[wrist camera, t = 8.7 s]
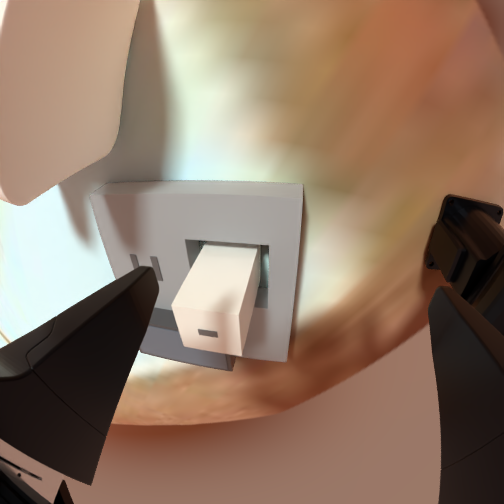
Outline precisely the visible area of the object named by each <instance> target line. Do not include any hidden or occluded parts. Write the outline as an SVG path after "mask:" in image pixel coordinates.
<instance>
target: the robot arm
mask: <svg viewBox="0 0 504 504" xmlns="http://www.w3.org/2000/svg"><path fill="white" fill-rule="evenodd" d="M450 200H452V202H451V203H449V201H450ZM498 211H499V212H498ZM497 212H498V213H497ZM502 215H503V208H502V207H501V206H499V205H496V204H492V203H488V202H484V201H479V200H475V199H471V198H466V197H461V196H457V195H452V194H448V195H447V196H446V197H445V199H444V202H443V206H442V209H441V213H440V217H439V220H438V221H437V223H436V226H435V230H434V233H433V236H432V239H431V242H430V245H429V251H428V254H427V257H426V260H425V265H426V267H427V268H428V269H437V270H441V272H442V274H443V276H444V278H445V280H446V282H450V284H451V286H452V288H453V289H452V288H450V287H448V286H439V287H438V288H437V289H436V291H435V293H434V295H433V298H432V300H431V302H430V304H429V307H428V317H429V325H430V335H431V344H432V345H431V346H432V355H433V362H434V369H435V375H436V382H437V391H438V401H439V412H440V427H441V469H442V470H441V476H440V493H439V503H438V504H504V229H503V228H502V227H501V226H500V225H499V224H500V221H501V218H502ZM430 262H432V263H430ZM429 263H430V264H429ZM158 295H159V284H158V280H157V277H156V274H155V271H154V269H153V267H151V266H139V267H137V268H136V269H134V270H132V271H130V272H129V273H127V274H125V275H124V276H122V277H120V278H118V279H117V280H115V281H113V282H111V283H110V284H108V285H106V286H105V287H103V288H101V289H100V290H98V291H96V292H95V293H93V294H91V295H90V296H88V297H86V298H85V299H83V300H81V301H80V302H78V303H76V304H75V305H73V306H71V307H70V308H68V309H67V310H65V311H63V312H62V313H60V314H59V315H57V317H56V316H55V317H54V318H52V319H51V320H49V321H47V322H46V323H44V324H43V325H41V326H39V327H38V328H36V329H34V330H33V331H31V332H29V333H27V334H26V335H24V336H22V337H20V338H18V339H17V340H15V341H13V342H11V343H9V344H8V345H6V346H4V347H2V348H1V349H0V504H74V503H73V501H72V498H71V496H70V493H69V490H68V488H67V485H66V482H65V480H63V477H64V475H66V476H68V477H70V478H73V479H75V480H77V481H80V482H82V483H85V484H87V485H90V486H91V484H92V481H93V478H94V475H95V471H96V468H97V465H98V461H99V458H100V455H101V452H102V449H103V446H104V442H105V440H106V436H107V433H108V430H109V427H110V424H111V422H112V419H113V416H114V413H115V410H116V408H117V405H118V402H119V399H120V397H121V394H122V391H123V389H124V386H125V383H126V381H127V378H128V376H129V373H130V371H131V368H132V366H133V363H134V361H135V358H136V356H137V353H138V351H139V349H140V346H141V344H142V341H143V339H144V337H145V334H146V332H147V329H148V326H149V323H150V319H151V316H152V313H153V310H154V307H155V304H156V301H157V298H158Z"/></svg>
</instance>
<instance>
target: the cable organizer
mask: <svg viewBox="0 0 504 504" xmlns="http://www.w3.org/2000/svg"><path fill="white" fill-rule="evenodd" d="M139 3H140V0H0V199H1V200H3V201H6V202H8V203H11V204H14V205H17V206H23V205H26V204H28V203H30V202H31V201H32V200H34V199H35V198H37V197H38V196H40V195H41V194H43V193H44V192H46V191H47V190H49V189H50V188H52V187H53V186H55V185H57V184H58V183H60V182H61V181H63V180H65V179H66V178H68V177H70V176H71V175H73V174H75V173H77V172H78V171H80V170H82V169H83V168H85V167H87V166H89V165H91V164H93V163H94V162H96V161H98V160H100V159H102V158H104V157H105V156H107V155H108V154H109V153H110V151H111V150H112V148H113V146H114V144H115V142H116V139H117V135H118V131H119V126H120V116H121V109H122V97H123V86H124V78H125V71H126V65H127V59H128V53H129V47H130V42H131V37H132V34H133V29H134V25H135V20H136V16H137V12H138V8H139Z"/></svg>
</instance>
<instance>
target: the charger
mask: <svg viewBox="0 0 504 504" xmlns="http://www.w3.org/2000/svg"><path fill="white" fill-rule="evenodd" d="M259 283H260V245H258V244H245V243H231V242H218V241H206V243H205V244H204V246H203V248H202V250H201V252H200V253H199V255H198V257H197V259H196V260H195V262H194V264H193V266H192V268H191V269H190V271H189V273H188V275H187V277H186V279H185V280H184V282H183V284H182V286H181V288H180V290H179V292H178V293H177V295H176V297H175V299H174V301H173V303H172V305H171V306H172V310H173V313H174V316H175V320H176V323H177V326H178V329H179V333H180V336H181V339H182V342H183V345H184V346H185V347H190V348H195V349H200V350H206V351H212V352H218V353H224V354H230V355H237V356H242V354H243V349H244V345H245V341H246V337H247V333H248V329H249V325H250V321H251V316H252V312H253V308H254V304H255V300H256V295H257V291H258V287H259Z"/></svg>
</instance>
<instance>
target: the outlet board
mask: <svg viewBox="0 0 504 504" xmlns="http://www.w3.org/2000/svg"><path fill="white" fill-rule="evenodd" d="M89 197H90V201H91V205H92V208H93V212H94V215H95V219H96V222H97V226H98V229H99V232H100V235H101V239H102V242H103V245H104V248H105V251H106V254H107V257H108V259H109V262H110V265H111V268H112V271H113V273H114V276H115V279H116V280H117V279H118V278H120V277H122V276H124V275H125V274H127V273H129V272H130V271H132V270H134V269H136V268H137V267H139V266H151V267H153V269H154V271H155V274H156V277H157V280H158V284H159V295H158V298H157V301H156V304H155V307H156V308H161V309H167V310H172V306H171V305H172V303H173V301H174V299H175V297H176V295H177V293H178V292H179V290H180V288H181V286H182V284H183V282H184V280H185V279H186V277H187V275H188V273H189V271H190V269H191V268H192V266H193V264H194V262H195V260H196V259H197V257H198V255H199V253H200V246H199V240H204V241H218V242H231V243H245V244H258V245H269V281H268V288H263V287H258V291H257V295H256V300H255V304H254V308H253V312H252V316H251V321H250V325H249V329H248V333H247V337H246V341H245V345H244V349H243V354H242V356H237V355H236V357H243V358H251V359H259V360H268V361H277V362H287V355H288V347H289V339H290V331H291V323H292V315H293V306H294V297H295V287H296V277H297V267H298V256H299V245H300V232H301V219H302V205H303V184H291V183H274V182H252V181H208V180H184V181H141V182H120V183H106V184H105V185H103V186H102V187H100V188H99V189H97V190H96V191H95V192H93V193H92V194H90V195H89Z"/></svg>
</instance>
